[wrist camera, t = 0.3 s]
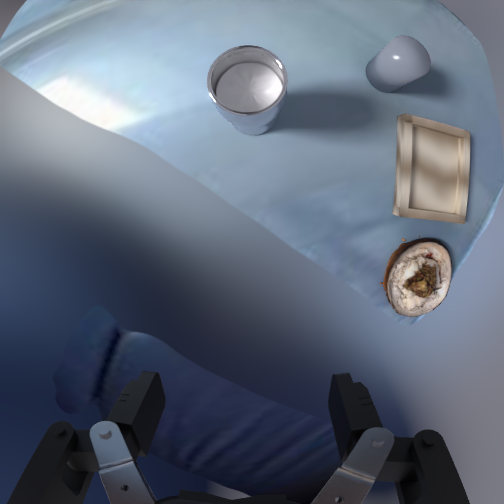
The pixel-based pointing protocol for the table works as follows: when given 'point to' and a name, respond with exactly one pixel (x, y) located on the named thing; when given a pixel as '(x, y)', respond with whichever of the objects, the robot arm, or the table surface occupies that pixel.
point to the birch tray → (431, 170)
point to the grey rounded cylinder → (398, 64)
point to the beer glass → (248, 88)
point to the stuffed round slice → (418, 277)
